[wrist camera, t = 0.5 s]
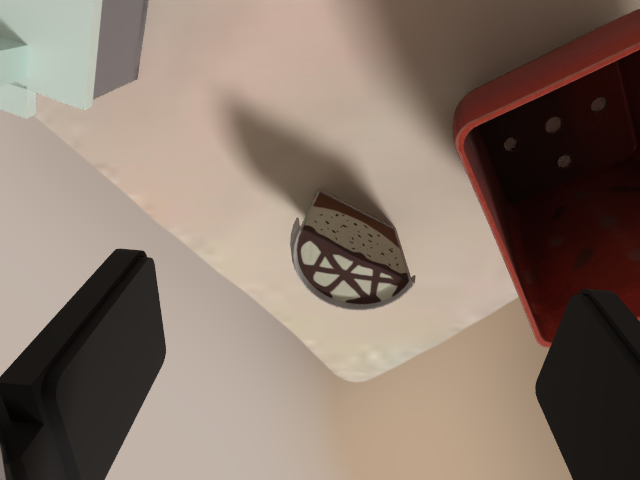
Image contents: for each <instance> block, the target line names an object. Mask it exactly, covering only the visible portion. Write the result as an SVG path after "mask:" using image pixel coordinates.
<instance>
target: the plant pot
mask: <svg viewBox="0 0 640 480" xmlns="http://www.w3.org/2000/svg"><path fill="white" fill-rule="evenodd" d="M599 97H604V98H605V99H606V100H607V106H606V107H605V109H604V110H603V111H601V112H598V113H595V112H593V111H592V110H591V104H592V102H593V101H594V100H595V99H596V98H599ZM552 117H559V118H561V119H562V121H563V124H562V127H561V129H560V130H559V131H558V132H556V133H553V134H550V133H548V132H547V131H546V130H545V124H546V122H547V121H548V120H549V119H550V118H552ZM453 136H454V142H455V147H456V150H457V152H458V155H459V157H460V159H461V161H462V164H463V166H464V168H465V171H466V173H467V175H468V177H469V180H470V182H471V184H472V186H473V189H474V191H475V193H476V196H477V198H478V200H479V203H480V205H481V207H482V209H483V212H484V214H485V216H486V219H487V221H488V223H489V226H490V228H491V231H492V233H493V235H494V238H495V240H496V242H497V245H498V247H499V249H500V252H501V254H502V257H503V259H504V262H505V264H506V267H507V269H508V271H509V274H510V276H511V279H512V281H513V283H514V286H515V288H516V291H517V293H518V296H519V298H520V301H521V303H522V305H523V308H524V311H525V313H526V316H527V318H528V321H529V323H530V326H531V328H532V331H533V333H534V336H535V338H536V341H537V342H538V344H540V345H541V346H544V347H548V348H550V347H551V344H552V342H553V339H554V337H555V334H556V332H557V329H558V327H559V324H560V322H561V319H562V317H563V314H564V312H565V309H566V307H567V304H568V302H569V300H570V298H571V297H572V296H573V295H578V293H579V292H580V291H581V290H583V289H593V290H605V291H612V292H614V293H615V294H617V296H618V297H619V298H620V299H621V300H622V301H623V303H624V304H625V305H626V306H627V307H628V308H629V310H630V311H631V312H632V313H633V314H634V316H635V317H636V318H637V319H638V320H639V321H640V9H639V10H636V11H634V12H632V13H629V14H627V15H625V16H623V17H620V18H618V19H616V20H614V21H612V22H610V23H608V24H606V25H604V26H602V27H600V28H598V29H596V30H594V31H592V32H590V33H588V34H586V35H584V36H582V37H580V38H578V39H576V40H574V41H572V42H570V43H568V44H566V45H564V46H562V47H560V48H558V49H556V50H553V51H551V52H549V53H547V54H545V55H543V56H541V57H539V58H537V59H535V60H533V61H531V62H529V63H527V64H525V65H523V66H521V67H519V68H517V69H515V70H513V71H511V72H509V73H507V74H505V75H503V76H501V77H499V78H497V79H495V80H493V81H491V82H489V83H487V84H485V85H483V86H481V87H479V88H476V89H474V90H472V91H471V92H469V93H468V94H467V95H466V96H465V97H464V98H463V99H462V100H461V101H460V103H459V104H458V106H457V108H456V111H455V114H454V118H453ZM511 137H514V138H516V139H517V140H518V146H517V147H516V149H515V150H513V151H507V150H505V148H504V142H505V141H506V140H507V139H508V138H511ZM564 155H570V156H571V157H572V164H571V165H570V166H569V167H567V168H560V167H559V166H558V163H557V162H558V160H559V158H560V157H561V156H564Z"/></svg>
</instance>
